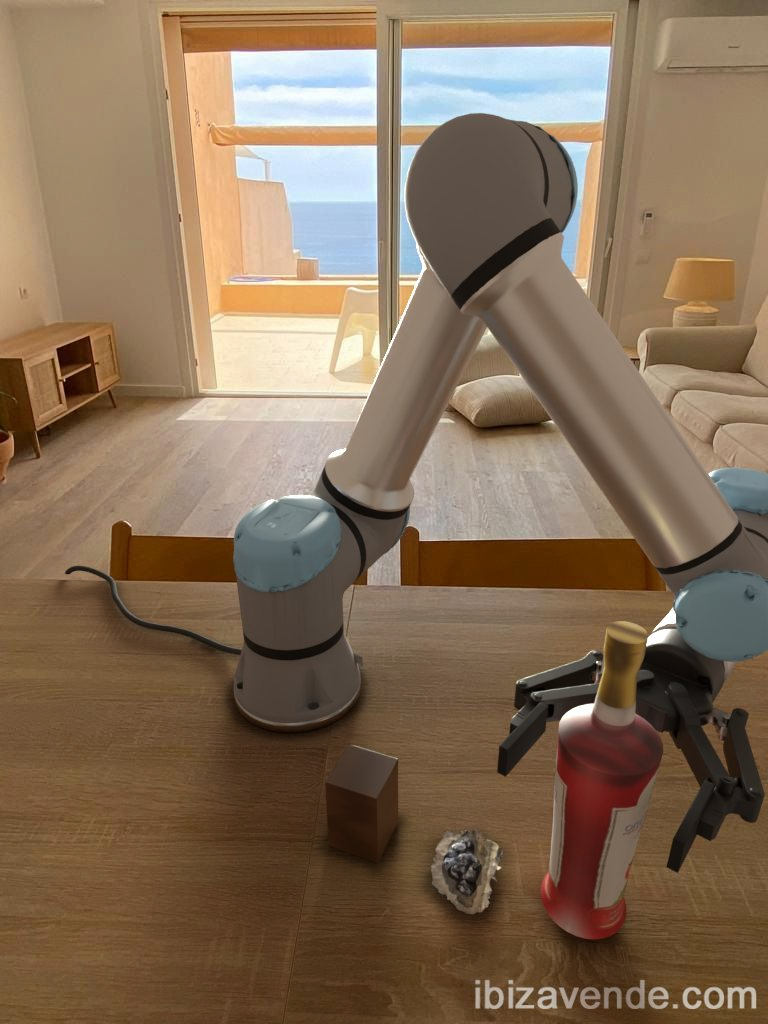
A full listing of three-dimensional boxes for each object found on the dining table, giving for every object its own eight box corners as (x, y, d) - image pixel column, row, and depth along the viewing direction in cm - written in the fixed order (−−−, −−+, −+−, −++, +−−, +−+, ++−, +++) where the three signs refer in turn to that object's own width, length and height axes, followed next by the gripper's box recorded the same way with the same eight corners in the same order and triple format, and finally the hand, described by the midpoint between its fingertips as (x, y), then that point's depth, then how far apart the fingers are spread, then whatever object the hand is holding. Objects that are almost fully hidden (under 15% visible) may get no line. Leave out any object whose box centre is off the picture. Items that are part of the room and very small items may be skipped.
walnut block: (328, 845, 64) (324, 781, 61) (351, 805, 69) (348, 743, 65) (378, 864, 63) (376, 798, 59) (398, 821, 67) (398, 758, 63)
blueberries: (498, 834, 65) (499, 819, 65) (515, 914, 58) (516, 899, 57) (427, 835, 65) (427, 821, 64) (434, 916, 58) (435, 901, 57)
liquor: (557, 856, 63) (593, 592, 51) (638, 899, 59) (697, 624, 47) (522, 919, 58) (554, 640, 46) (609, 971, 54) (668, 680, 42)
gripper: (823, 755, 59) (756, 946, 44) (558, 646, 73) (440, 763, 59) (847, 684, 56) (784, 865, 41) (565, 585, 70) (443, 692, 55)
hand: (581, 805), depth 50 cm, fingers open, 12 cm apart
